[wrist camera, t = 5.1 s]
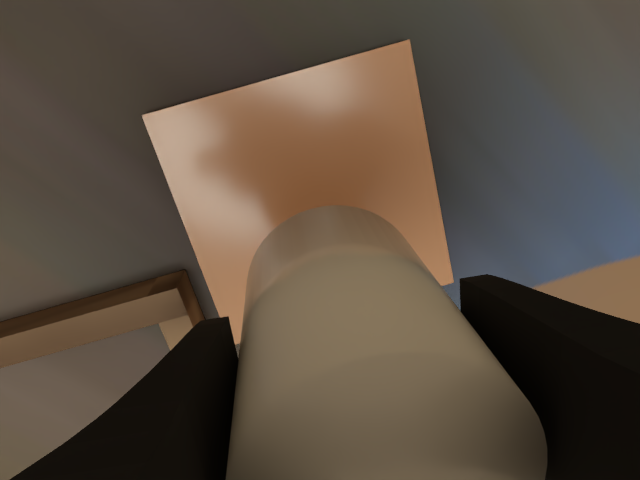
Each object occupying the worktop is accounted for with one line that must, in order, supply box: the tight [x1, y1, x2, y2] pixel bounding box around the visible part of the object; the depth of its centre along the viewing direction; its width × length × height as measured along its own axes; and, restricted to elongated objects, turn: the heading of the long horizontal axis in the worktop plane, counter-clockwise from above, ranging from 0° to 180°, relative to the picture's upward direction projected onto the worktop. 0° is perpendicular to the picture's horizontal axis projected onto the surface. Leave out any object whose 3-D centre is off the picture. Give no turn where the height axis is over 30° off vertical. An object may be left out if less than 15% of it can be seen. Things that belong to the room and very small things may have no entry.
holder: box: [0, 270, 205, 368], centre depth 21 cm, size 11×9×2 cm
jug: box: [226, 205, 547, 480], centre depth 11 cm, size 8×5×7 cm, turn 0°
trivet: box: [142, 39, 454, 344], centre depth 19 cm, size 10×10×1 cm
